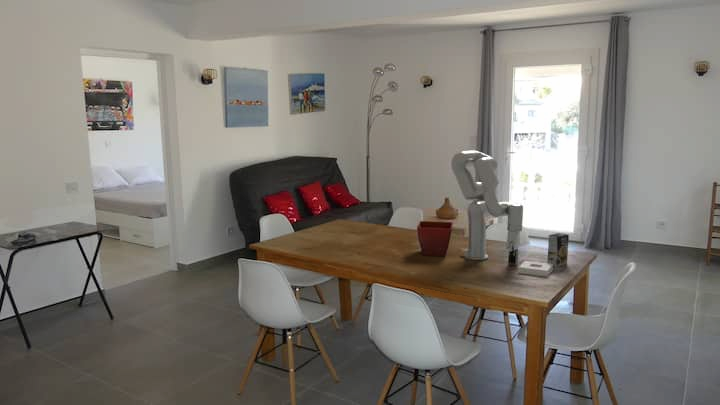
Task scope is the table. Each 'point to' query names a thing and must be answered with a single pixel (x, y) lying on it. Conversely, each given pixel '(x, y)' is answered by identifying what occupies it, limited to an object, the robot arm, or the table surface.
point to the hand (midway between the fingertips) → (512, 261)
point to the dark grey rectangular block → (515, 258)
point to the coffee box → (558, 249)
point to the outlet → (535, 268)
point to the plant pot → (434, 237)
